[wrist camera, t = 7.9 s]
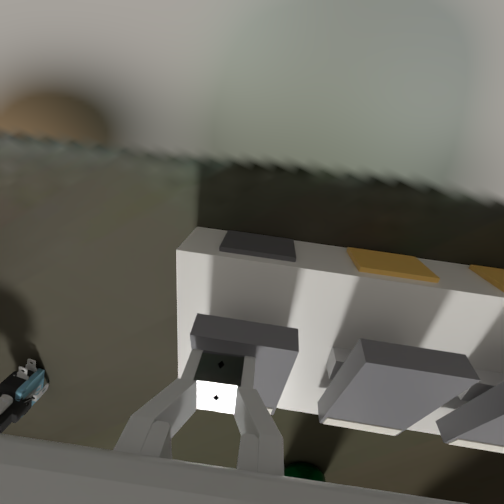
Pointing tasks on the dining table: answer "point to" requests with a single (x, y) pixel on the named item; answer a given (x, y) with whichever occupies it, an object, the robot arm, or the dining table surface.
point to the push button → (20, 393)
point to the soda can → (304, 471)
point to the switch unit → (342, 306)
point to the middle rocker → (392, 386)
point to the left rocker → (252, 349)
